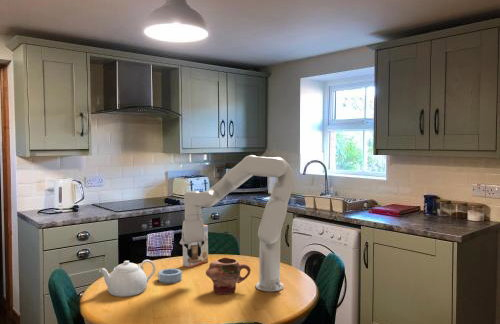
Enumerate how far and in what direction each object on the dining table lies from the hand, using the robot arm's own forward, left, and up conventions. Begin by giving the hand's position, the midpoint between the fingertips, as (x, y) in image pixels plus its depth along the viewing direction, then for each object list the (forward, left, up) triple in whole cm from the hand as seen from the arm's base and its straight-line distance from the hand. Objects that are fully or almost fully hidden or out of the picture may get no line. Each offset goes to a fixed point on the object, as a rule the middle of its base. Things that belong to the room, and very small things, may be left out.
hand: (194, 256), depth 198 cm
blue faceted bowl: (+10, +9, -13) cm, 19 cm away
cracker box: (+30, -11, -13) cm, 35 cm away
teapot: (+4, +30, -14) cm, 33 cm away
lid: (0, 0, -2) cm, 2 cm away
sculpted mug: (-16, -10, -13) cm, 23 cm away
